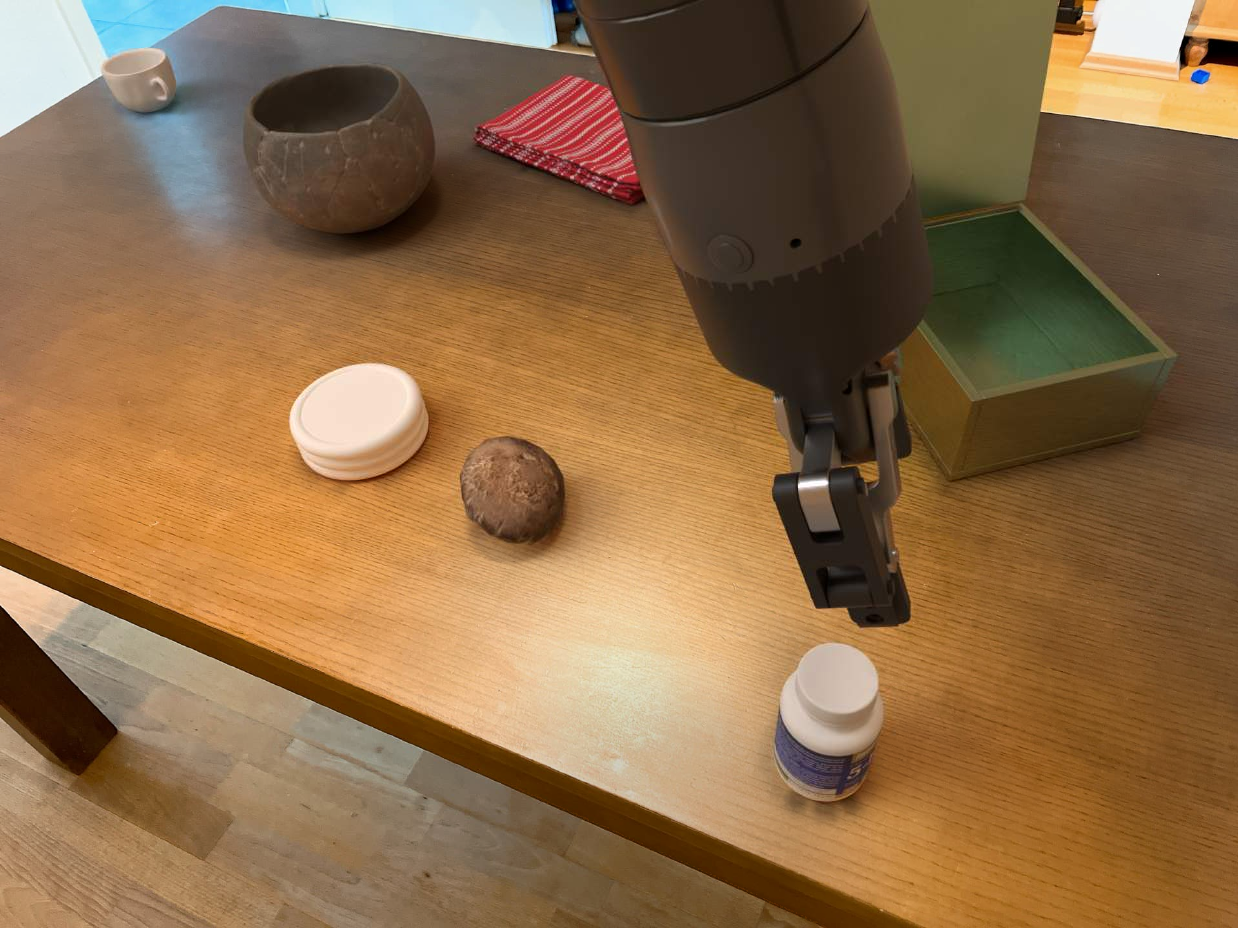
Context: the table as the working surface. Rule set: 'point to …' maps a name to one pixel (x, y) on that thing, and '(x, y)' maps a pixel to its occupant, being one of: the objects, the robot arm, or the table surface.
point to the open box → (1022, 350)
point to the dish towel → (569, 137)
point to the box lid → (968, 94)
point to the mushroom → (512, 490)
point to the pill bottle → (828, 722)
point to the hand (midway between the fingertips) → (885, 529)
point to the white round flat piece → (359, 421)
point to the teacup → (141, 79)
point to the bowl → (339, 146)
